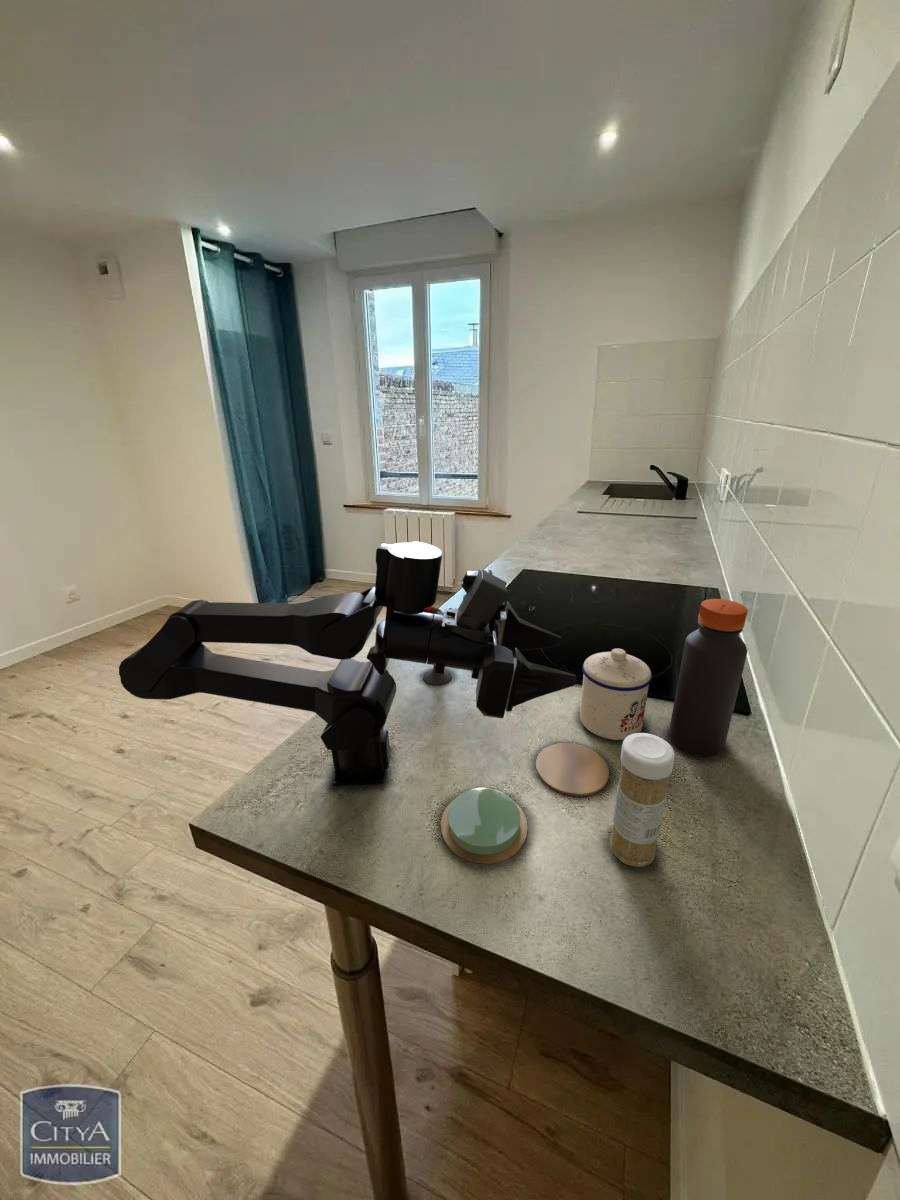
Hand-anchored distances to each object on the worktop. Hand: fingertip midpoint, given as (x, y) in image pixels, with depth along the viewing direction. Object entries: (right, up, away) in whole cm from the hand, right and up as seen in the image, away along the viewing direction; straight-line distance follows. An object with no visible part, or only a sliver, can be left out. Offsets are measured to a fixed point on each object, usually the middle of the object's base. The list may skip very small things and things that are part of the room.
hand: (567, 659), depth 53 cm
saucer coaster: (-9, -18, -1) cm, 21 cm away
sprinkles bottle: (+6, -20, -4) cm, 21 cm away
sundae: (-15, -7, +28) cm, 32 cm away
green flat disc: (-9, -18, -1) cm, 20 cm away
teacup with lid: (+11, -11, +16) cm, 22 cm away
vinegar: (+20, -13, +11) cm, 26 cm away
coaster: (+2, -15, +7) cm, 16 cm away
